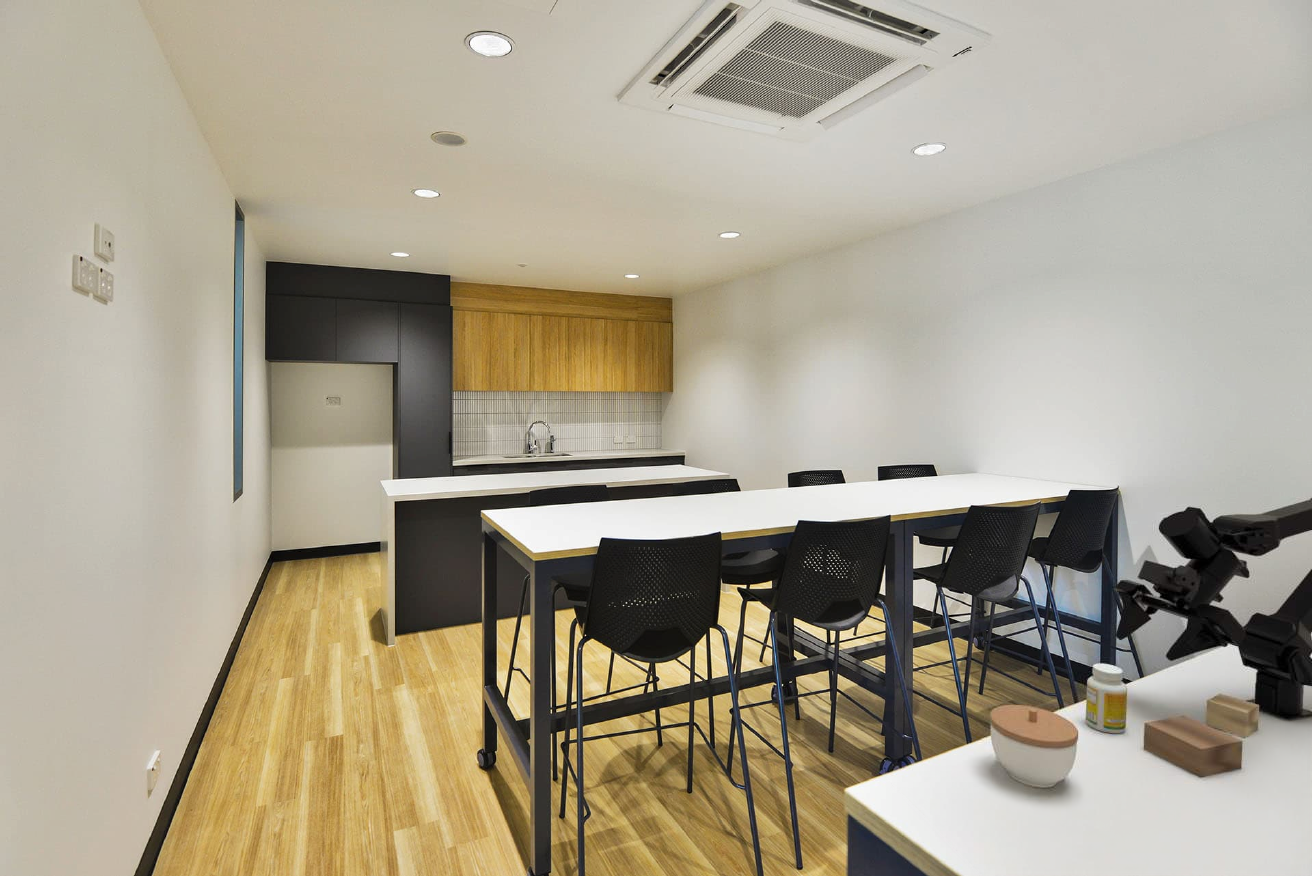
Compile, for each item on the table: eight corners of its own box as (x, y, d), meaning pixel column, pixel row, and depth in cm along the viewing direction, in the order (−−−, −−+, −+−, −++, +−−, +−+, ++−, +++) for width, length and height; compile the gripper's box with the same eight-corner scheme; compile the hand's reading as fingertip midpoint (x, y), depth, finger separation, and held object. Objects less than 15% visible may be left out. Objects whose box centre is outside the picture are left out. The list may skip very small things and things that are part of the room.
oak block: (1219, 717, 109) (1220, 693, 109) (1258, 729, 105) (1259, 705, 105) (1206, 724, 107) (1207, 700, 107) (1245, 737, 103) (1246, 712, 102)
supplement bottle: (1080, 725, 107) (1082, 667, 106) (1092, 715, 110) (1093, 658, 110) (1119, 738, 103) (1121, 677, 102) (1130, 727, 106) (1132, 668, 106)
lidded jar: (1026, 802, 86) (1028, 732, 86) (972, 759, 97) (973, 697, 96) (1096, 792, 88) (1098, 724, 88) (1035, 751, 99) (1037, 690, 98)
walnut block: (1182, 740, 102) (1183, 715, 102) (1241, 768, 94) (1242, 740, 94) (1143, 748, 100) (1144, 722, 99) (1200, 777, 92) (1201, 749, 92)
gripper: (1124, 533, 116) (1067, 598, 115) (1232, 557, 98) (1165, 635, 97) (1162, 576, 118) (1105, 640, 117) (1275, 607, 99) (1209, 684, 98)
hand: (1141, 648), depth 107 cm, fingers open, 9 cm apart
